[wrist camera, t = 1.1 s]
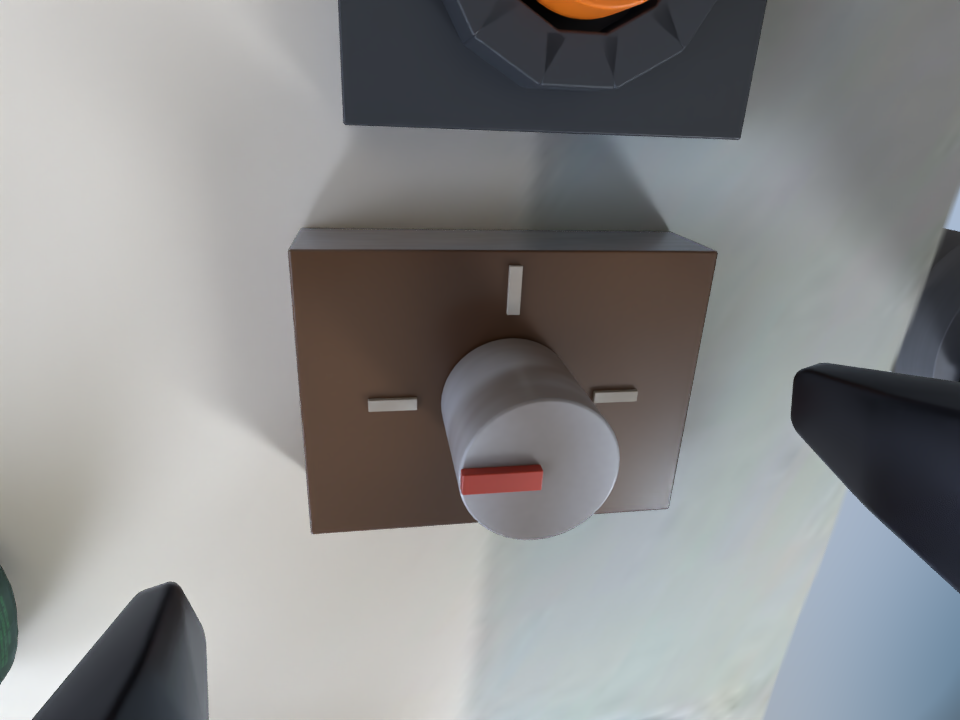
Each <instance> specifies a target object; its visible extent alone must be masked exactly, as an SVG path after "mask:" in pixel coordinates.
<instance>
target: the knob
mask: <svg viewBox="0 0 960 720" xmlns="http://www.w3.org/2000/svg"><path fill="white" fill-rule="evenodd" d="M441 412H442V416H443V421H444V425H445V430H446V434H447V438H448V443H449V447H450V452H451V456H452V460H453V465H454V469H455V473H456V478H457V482H458V487H459V491H460V495H461V498H462V500H463V503H464V505H465V506H466V508H467V510H468V511H469V513H470V514H471V515H472V516H473V518H474V519H475V520H477V521H478V522H479V523H480V524H481V525H482V526H484V527H485V528H487V529H488V530H490V531H492V532H494V533H496V534H499V535H502V536H504V537H508V538H513V539H521V540H536V539H543V538H548V537H552V536H556V535H559V534H562V533H564V532H566V531H569V530H571V529H573V528H575V527H576V526H578V525H580V524H581V523H583V522H584V521H585V520H587V519H588V518H589V517H591V516H592V515H593V514H594V513H595V512H596V511H597V510H598V509H599V508H600V507H601V505H602V504H603V503H604V502H605V500H606V499H607V497H608V496H609V494H610V492H611V490H612V489H613V487H614V484H615V481H616V479H617V475H618V470H619V461H620V455H619V447H618V442H617V439H616V436H615V434H614V432H613V430H612V428H611V427H610V425H609V423H608V422H607V421H606V419H605V418H604V417H603V415H602V414H601V413H600V411H599V410H598V409H597V407H596V406H595V405H594V403H593V402H592V401H591V399H590V398H589V397H588V395H587V394H586V393H585V391H584V390H583V388H582V387H581V386H580V384H579V383H578V382H577V380H576V379H575V378H574V376H573V375H572V374H571V372H570V371H569V370H568V368H567V367H566V366H565V364H564V363H563V362H562V360H561V359H560V358H559V357H558V356H557V355H556V354H555V353H554V352H553V351H552V350H550V349H548V348H547V347H545V346H544V345H541V344H539V343H537V342H534V341H531V340H526V339H518V338H509V339H500V340H496V341H492V342H489V343H486V344H484V345H482V346H480V347H477V348H476V349H474V350H473V351H471V352H469V353H468V354H467V355H466V356H465V357H463V358H462V359H461V360H460V361H459V362H458V363H457V365H456V366H455V367H454V368H453V370H452V371H451V373H450V375H449V376H448V378H447V380H446V383H445V385H444V388H443V392H442V399H441Z"/></svg>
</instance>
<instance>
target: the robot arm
mask: <svg viewBox="0 0 960 720" xmlns="http://www.w3.org/2000/svg"><path fill="white" fill-rule="evenodd" d="M791 421H792V424H793V426H794V428H795V430H796V431H797V433H798V434H799V435H800V436H801V437H802V438H803V439H804V440H805V442H806V443H807V444H808V445H809V446H810V447H811V448H812V449H813V450H814V451H815V453H816V454H817V455H818V456H819V457H820V458H821V459H822V460H823V461H824V462H825V464H826V465H827V466H828V467H829V468H830V469H831V470H832V471H833V472H834V473H835V474H836V476H837V477H838V478H839V479H840V480H841V481H842V482H843V483H844V484H845V485H846V487H847V488H848V489H849V490H850V491H851V492H852V493H853V494H854V495H855V496H856V497H857V498H858V499H859V500H860V502H861V503H863V505H865V507H867V509H868V510H869V511H871V512H872V513H873V514H874V515H875V516H876V517H877V518H878V519H879V520H880V521H881V522H882V523H883V524H885V525H886V527H888V528H889V529H890V530H891V531H892V532H893V533H894V534H895V535H896V536H898V537H899V538H900V539H901V540H902V541H903V542H904V543H905V544H906V545H907V546H908V547H909V548H911V549H912V550H913V551H914V552H915V553H916V554H917V555H918V556H920V558H922V559H923V560H924V561H925V562H926V563H927V564H928V565H929V566H930V567H931V568H932V569H934V570H935V571H936V572H937V573H938V574H939V575H940V576H941V577H942V578H943V579H945V580H946V581H947V582H948V583H949V584H950V585H951V586H952V587H954V589H955V590H957V591H958V592H959V593H960V380H959V382H955V381H948V380H941V379H934V378H927V377H920V376H913V375H907V374H900V373H893V372H886V371H879V370H872V369H865V368H858V367H851V366H844V365H837V364H830V363H819V364H816V365H813V366H810V367H807V368H804V369H801V370H800V371H798V372H797V373H796V375H795V377H794V381H793V393H792V406H791ZM32 720H209V711H208V682H207V653H206V639H205V634H204V630H203V627H202V625H201V623H200V621H199V619H198V618H197V616H196V614H195V612H194V610H193V608H192V607H191V605H190V603H189V601H188V599H187V598H186V596H185V594H184V592H183V590H182V589H181V587H180V586H179V585H178V584H177V583H175V582H167V583H164V584H161V585H158V586H155V587H152V588H149V589H146V590H143V591H141V592H139V593H138V594H137V595H136V596H135V597H134V598H133V599H132V600H131V601H130V602H129V604H128V605H127V606H126V607H125V608H124V610H123V611H122V612H121V613H120V614H119V616H118V617H117V618H116V619H115V620H114V622H113V623H112V624H111V625H110V626H109V628H108V629H107V630H106V631H105V632H104V634H103V635H102V636H101V637H100V638H99V640H98V641H97V642H96V643H95V644H94V646H93V647H92V648H91V649H90V650H89V652H88V653H87V654H86V655H85V656H84V658H83V659H82V660H81V661H80V662H79V664H78V665H77V666H76V667H75V668H74V670H73V671H72V672H71V673H70V674H69V676H68V677H67V678H66V679H65V680H64V682H63V683H62V684H61V685H60V686H59V688H58V689H57V690H56V691H55V692H54V694H53V695H52V696H51V697H50V698H49V700H48V701H47V702H46V703H45V704H44V706H43V707H42V708H41V709H40V710H39V712H38V713H37V714H36V715H35V716H34V718H33V719H32Z"/></svg>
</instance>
